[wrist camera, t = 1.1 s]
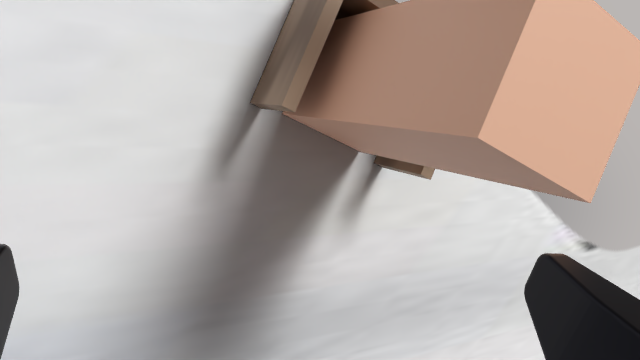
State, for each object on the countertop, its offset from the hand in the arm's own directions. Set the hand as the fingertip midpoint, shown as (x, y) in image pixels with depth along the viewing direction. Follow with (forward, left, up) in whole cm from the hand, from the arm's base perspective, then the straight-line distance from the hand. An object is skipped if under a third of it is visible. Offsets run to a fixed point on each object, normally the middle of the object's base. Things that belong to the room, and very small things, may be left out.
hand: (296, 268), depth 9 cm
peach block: (-3, -8, -15) cm, 17 cm away
